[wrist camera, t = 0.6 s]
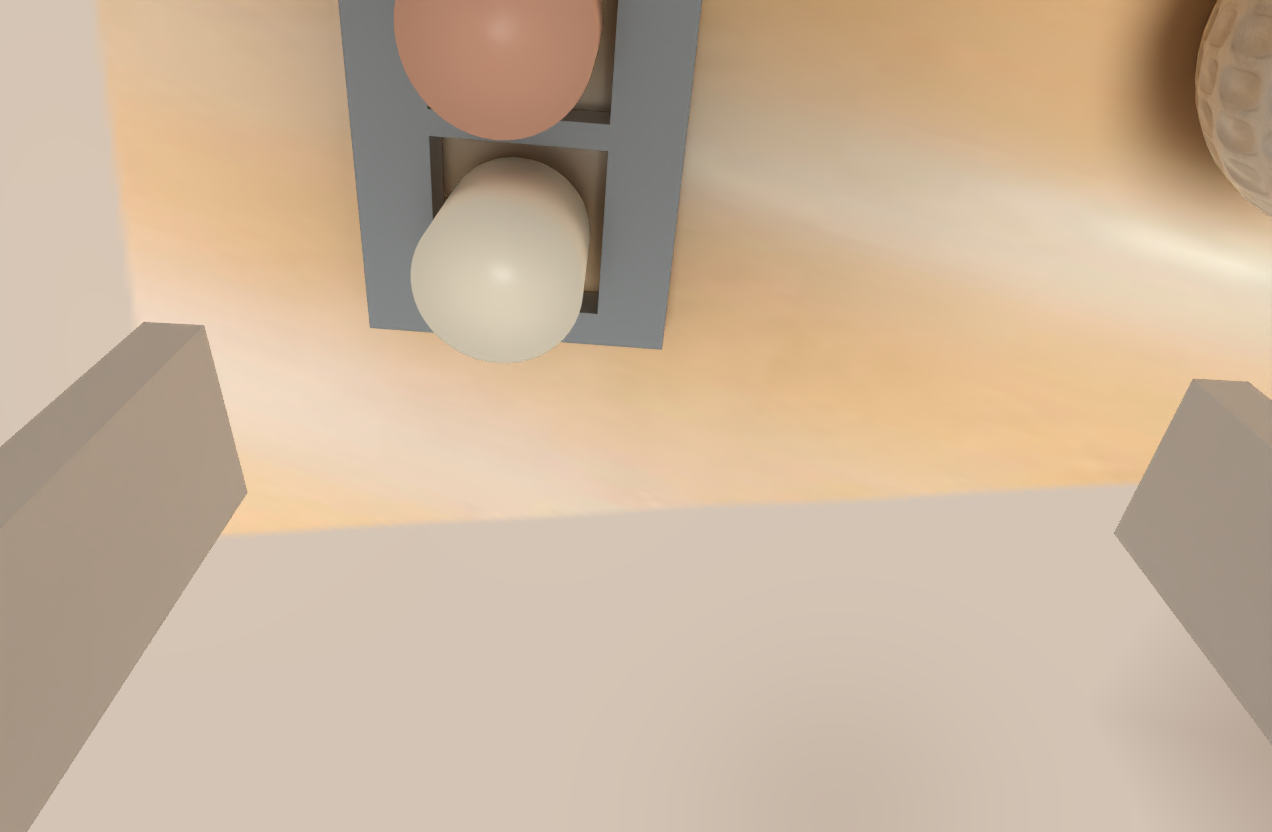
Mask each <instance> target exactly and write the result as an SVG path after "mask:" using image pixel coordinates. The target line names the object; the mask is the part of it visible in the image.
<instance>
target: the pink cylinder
mask: <svg viewBox="0 0 1272 832" xmlns="http://www.w3.org/2000/svg"><path fill="white" fill-rule="evenodd" d="M602 26H603V11H602V2H601V0H395V7H394V31H395V39H396V44H397V48H398V53H399V56H400V59H401V62H402V64H403V67H404V70H405V72H406V74H407V76H408V78H409V80H410V82H411V83H412V85H413V86H414V88H415V89H416V91H417V92H418V94H419V95H420V96H421V98H422V99H423V100H424V101H425V102H426V104H427V105H428V106H429V107H430V108H431V109H432V110H433V111H434V112H435V113H436V114H437V115H439V116H440V117H441V118H443V119H444V120H445V121H447V122H448V123H450V124H451V125H453V126H455V127H456V128H458V129H460V130H462V131H465V132H467V133H469V134H472V135H475V136H478V137H482V138H486V139H493V140H516V139H523V138H526V137H530V136H534V135H536V134H538V133H541V132H543V131H545V130H547V129H549V128H550V127H552V126H554V125H555V124H556V123H558V122H559V121H560V120H561V119H563V118H564V117H565V116H566V115H567V114H568V113H569V112H570V111H571V110H572V109H573V107H574V106H575V105H576V103H577V102H578V101H579V99H580V98H581V96H582V94H583V92H584V90H585V89H586V87H587V84H588V82H589V79H590V76H591V74H592V70H593V67H594V63H595V59H596V55H597V51H598V48H599V44H600V39H601V35H602Z"/></svg>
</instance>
